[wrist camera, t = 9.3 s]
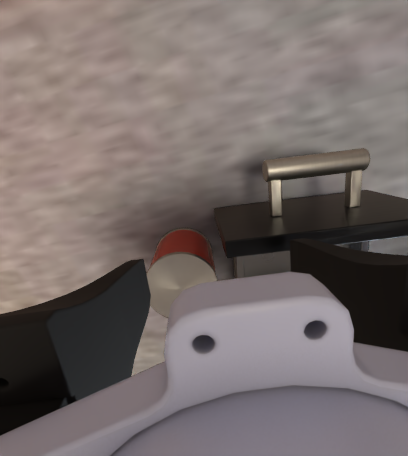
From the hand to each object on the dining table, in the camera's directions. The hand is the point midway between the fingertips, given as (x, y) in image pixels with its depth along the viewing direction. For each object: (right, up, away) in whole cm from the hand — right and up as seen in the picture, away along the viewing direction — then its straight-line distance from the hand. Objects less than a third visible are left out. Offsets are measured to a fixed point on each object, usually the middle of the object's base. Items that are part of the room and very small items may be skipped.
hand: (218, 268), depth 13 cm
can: (-2, 0, +11) cm, 11 cm away
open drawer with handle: (+7, -1, +11) cm, 13 cm away
